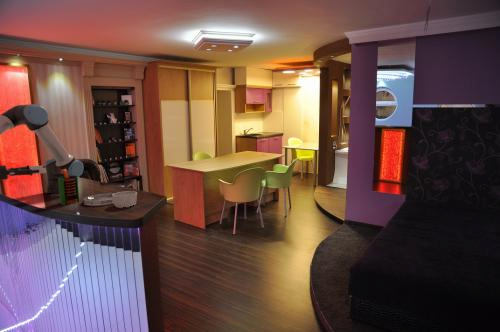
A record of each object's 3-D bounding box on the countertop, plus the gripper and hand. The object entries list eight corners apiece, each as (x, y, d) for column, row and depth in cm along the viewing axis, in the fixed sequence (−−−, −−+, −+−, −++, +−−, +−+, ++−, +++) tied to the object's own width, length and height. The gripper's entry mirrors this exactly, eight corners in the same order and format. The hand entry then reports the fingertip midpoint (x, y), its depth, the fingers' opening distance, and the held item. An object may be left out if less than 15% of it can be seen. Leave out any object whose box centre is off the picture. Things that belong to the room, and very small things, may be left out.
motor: (69, 205, 196) (66, 171, 194) (56, 204, 198) (52, 170, 195) (81, 200, 206) (78, 168, 203) (68, 200, 208) (65, 168, 205)
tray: (80, 201, 205) (80, 196, 205) (114, 196, 217) (114, 192, 217) (88, 208, 189) (87, 203, 189) (124, 202, 201) (124, 197, 201)
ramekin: (111, 209, 186) (110, 197, 185) (114, 203, 198) (113, 192, 197) (137, 207, 189) (136, 195, 188) (138, 201, 202) (137, 190, 201)
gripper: (-2, 177, 190) (42, 172, 203) (-1, 183, 171) (48, 178, 183) (-4, 163, 189) (41, 160, 202) (-3, 168, 170) (46, 164, 182)
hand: (44, 169), depth 193 cm, fingers open, 13 cm apart
